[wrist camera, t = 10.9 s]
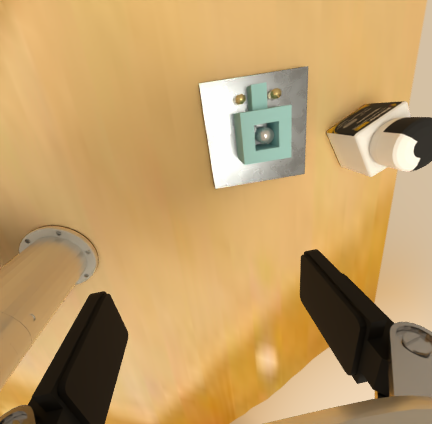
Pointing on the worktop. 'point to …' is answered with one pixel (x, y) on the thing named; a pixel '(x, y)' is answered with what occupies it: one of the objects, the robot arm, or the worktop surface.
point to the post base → (237, 102)
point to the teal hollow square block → (275, 120)
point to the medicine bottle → (382, 139)
